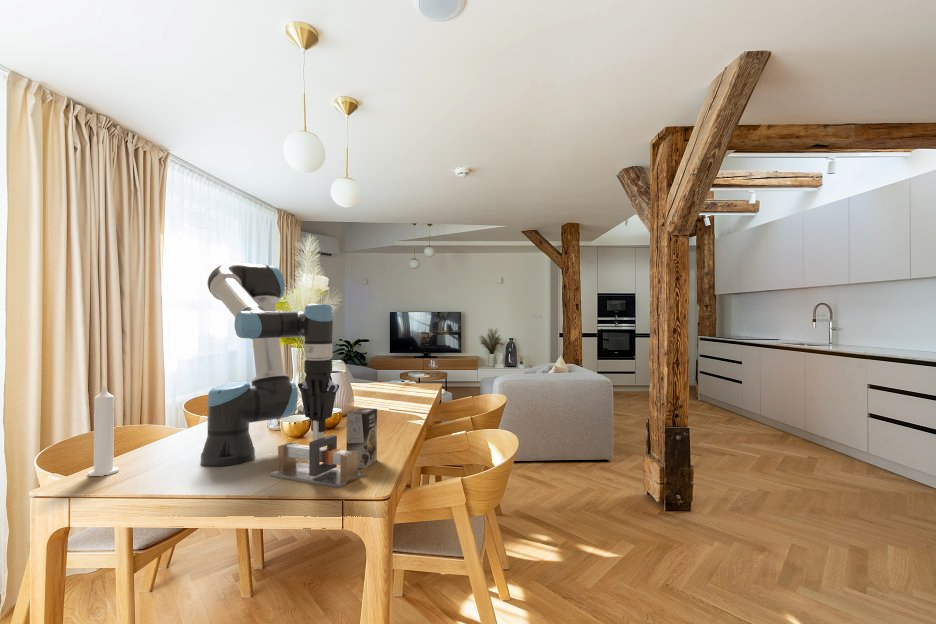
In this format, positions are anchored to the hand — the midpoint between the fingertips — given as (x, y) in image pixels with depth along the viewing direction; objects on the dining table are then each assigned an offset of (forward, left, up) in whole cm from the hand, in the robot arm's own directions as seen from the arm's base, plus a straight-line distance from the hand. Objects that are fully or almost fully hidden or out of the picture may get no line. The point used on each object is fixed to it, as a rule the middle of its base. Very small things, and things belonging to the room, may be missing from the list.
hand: (318, 443), depth 137 cm
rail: (0, 0, -9) cm, 9 cm away
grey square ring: (+2, 0, -8) cm, 8 cm away
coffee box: (+4, +15, -9) cm, 18 cm away
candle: (-57, -23, -9) cm, 63 cm away
